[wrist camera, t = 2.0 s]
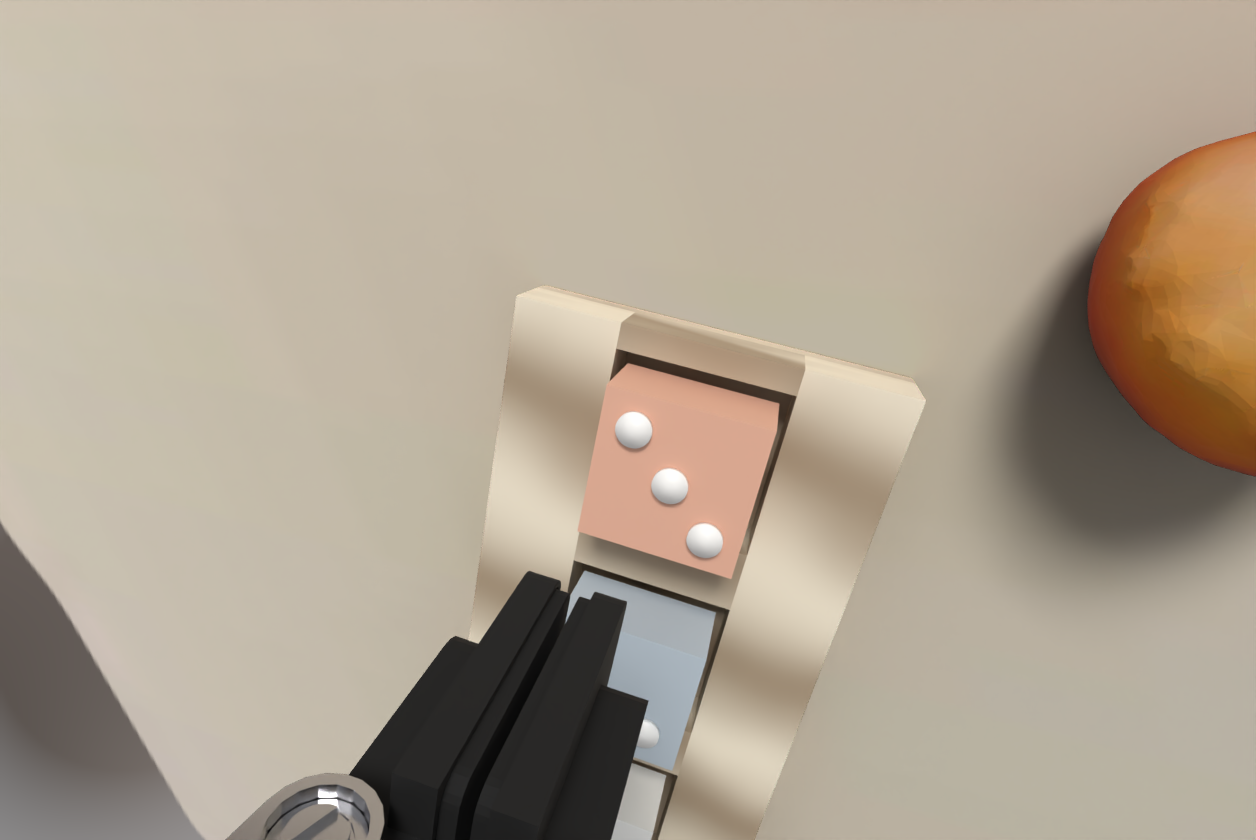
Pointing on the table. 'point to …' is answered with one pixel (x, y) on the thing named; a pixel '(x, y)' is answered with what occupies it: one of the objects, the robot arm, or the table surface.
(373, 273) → the table surface
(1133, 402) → the fruit
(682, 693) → the key
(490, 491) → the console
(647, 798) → the key
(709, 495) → the key
